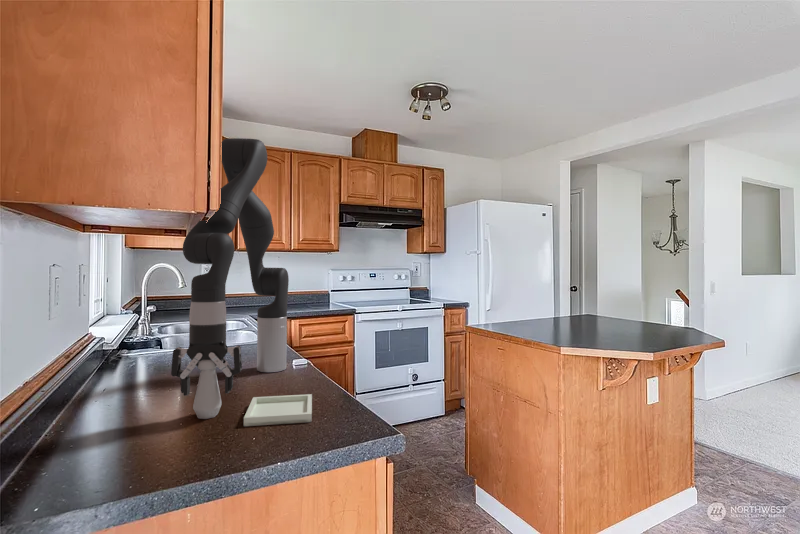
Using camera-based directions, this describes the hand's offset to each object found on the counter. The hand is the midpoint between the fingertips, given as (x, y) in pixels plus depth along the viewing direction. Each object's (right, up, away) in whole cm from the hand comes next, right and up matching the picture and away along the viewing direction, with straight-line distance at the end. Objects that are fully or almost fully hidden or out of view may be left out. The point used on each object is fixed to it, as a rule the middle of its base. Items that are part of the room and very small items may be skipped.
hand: (207, 393), depth 93 cm
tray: (+16, -5, +3) cm, 17 cm away
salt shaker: (0, -5, 0) cm, 5 cm away
